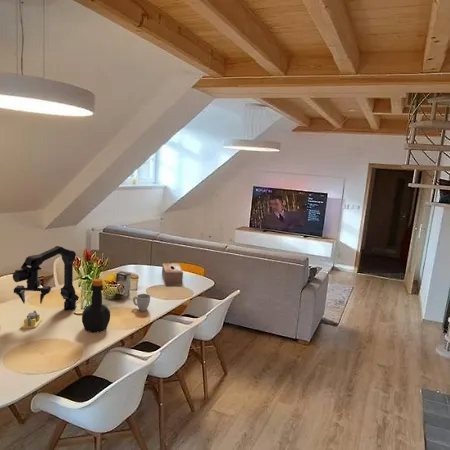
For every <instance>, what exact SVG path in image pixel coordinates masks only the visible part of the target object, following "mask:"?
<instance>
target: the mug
mask: <svg viewBox="0 0 450 450" xmlns="http://www.w3.org/2000/svg"><path fill="white" fill-rule="evenodd" d="M132 298H133V299H132V303H133V304H134V305H135V306H137V308H138V310H139V311H141V312H146V311H148V308H149V307H150V301H151V295H150V294H148V293H140V294H137V295H136V296H134V297H132Z"/></svg>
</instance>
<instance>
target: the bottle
mask: <svg viewBox="0 0 450 450" xmlns="http://www.w3.org/2000/svg"><path fill="white" fill-rule="evenodd" d="M103 290H104V285H103V279H102V278H93V279H92V285H91V292H92V294H91V304H90V305H87V306H86V307H84V309H83V311H82V312H81V313H82V315H81V322H82V325H83V328H84V331H85V332H88V333H92V334H94V333H95V334H96V333H97V334H98V333H102V332H105V331H106V330H107V329H108V325H109V323H110V320H111V311H110V309H109V307H108V306H106V305H105V304H103V293H102V291H103Z"/></svg>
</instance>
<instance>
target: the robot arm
mask: <svg viewBox="0 0 450 450" xmlns="http://www.w3.org/2000/svg"><path fill="white" fill-rule="evenodd" d="M57 255H61V260H62V262H63V263H64V264H63V265H64V267H63V270H64V273H63V274H64V275H63V276H64V278H63V287H60V296H61V297H62V299H63V300H64V303H63V307H64V311H75V310H76V308H77V301H79V298H80V297H79V296H78V295H77V294H76V288H75V286H74V285H73V279H74V277H73V272H74V271H73V270H74V268H73V265H74V264H73V263H75V260H76V256H77V253H76V251H74V250H70V249H67V248H65V247H63V246H59V245H56V246H54V247H52V248H50V249H48V250H46V251H43V252H42V253H39V254H33V255H28V256H27V257H25V260H24V262H23V264H22V265H21V267H20V269H16V270H14V273H13V274H12V280H13V281H14V282H15V283H20V282H24V281H26V287H25V286H24V285H16V286H15V287H14V288H13V294H16V295H17V296H18V297H19V298H20V300H21V302H22V303H23V304H25V303H26V298H25V297H26V295H25V293H26V292H40V294H39V295H40V298H39V302H40V303H39V304H40V305H42V303H43V300H44V298H45V296H46V295H48V294H49V293H50V292H51V291H52V288H51V286H50V285H49V286H47V285H43V286H42V287H41V284H42V280H40V278H39V271H40V270H42V267H40V266H41V265H43V263H44V262H45V261H47V260H49V259H51V258H53V257H56V256H57Z"/></svg>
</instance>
